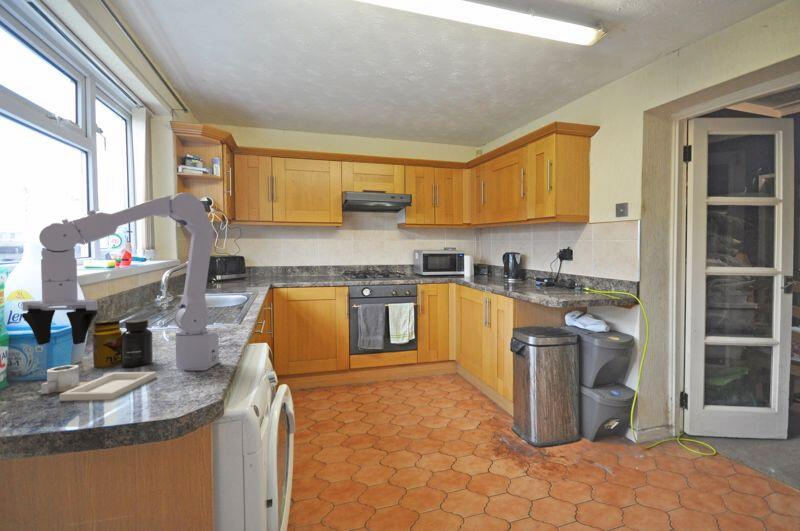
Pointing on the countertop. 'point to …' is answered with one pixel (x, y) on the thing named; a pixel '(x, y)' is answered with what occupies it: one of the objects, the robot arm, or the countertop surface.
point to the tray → (108, 386)
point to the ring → (61, 378)
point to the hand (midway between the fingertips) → (61, 343)
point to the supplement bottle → (136, 345)
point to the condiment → (107, 343)
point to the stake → (69, 388)
